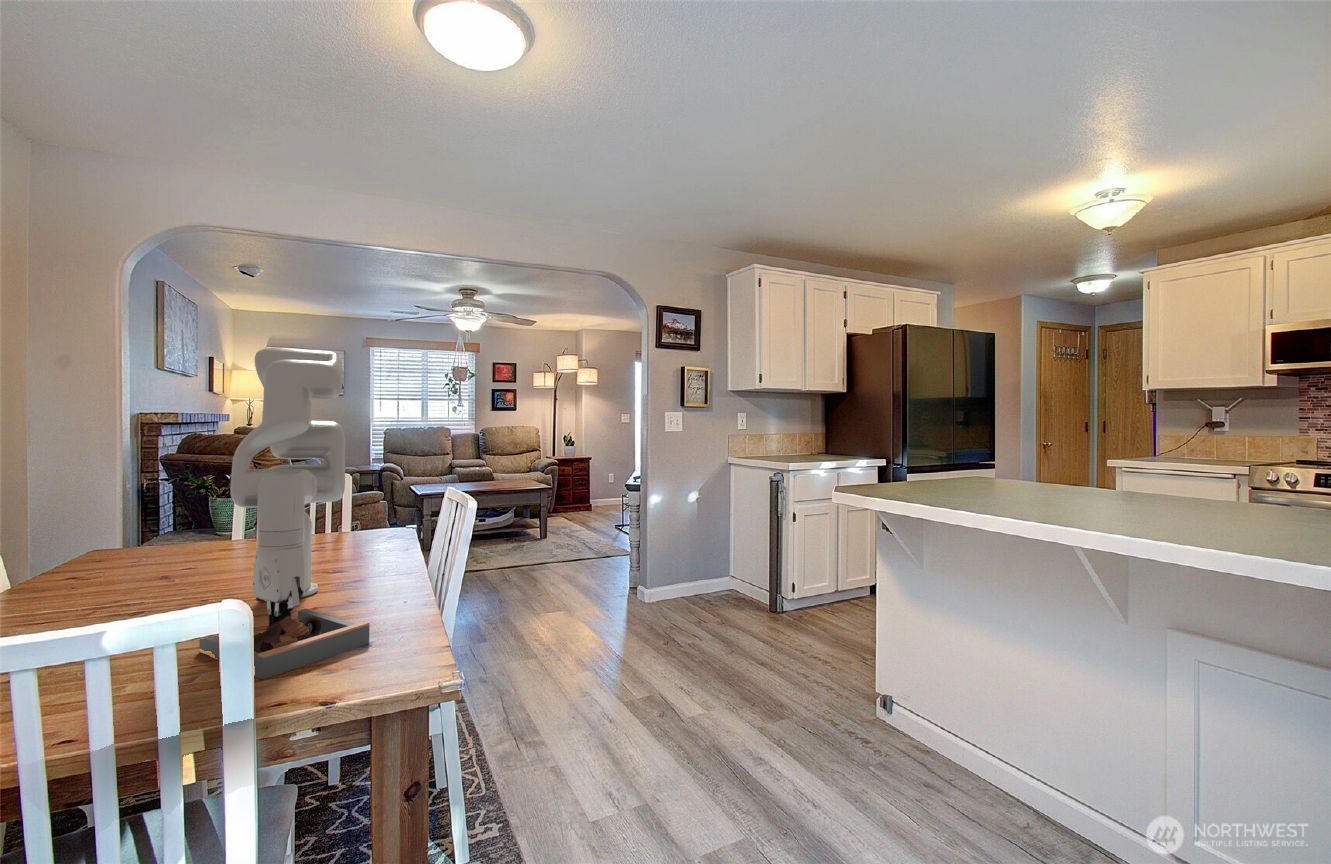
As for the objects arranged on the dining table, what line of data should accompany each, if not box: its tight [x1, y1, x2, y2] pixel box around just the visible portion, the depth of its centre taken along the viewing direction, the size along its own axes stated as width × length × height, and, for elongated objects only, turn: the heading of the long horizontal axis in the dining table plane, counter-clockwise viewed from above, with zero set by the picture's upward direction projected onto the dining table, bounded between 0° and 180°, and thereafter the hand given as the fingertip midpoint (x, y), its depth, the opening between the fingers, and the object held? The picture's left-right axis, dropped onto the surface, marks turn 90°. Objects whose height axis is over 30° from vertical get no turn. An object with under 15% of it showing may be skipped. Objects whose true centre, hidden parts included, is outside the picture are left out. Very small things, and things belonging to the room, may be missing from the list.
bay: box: [198, 608, 371, 680], centre depth 111 cm, size 22×19×4 cm
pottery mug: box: [253, 615, 322, 653], centre depth 108 cm, size 12×10×8 cm
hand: (279, 634), depth 112 cm, fingers closed
